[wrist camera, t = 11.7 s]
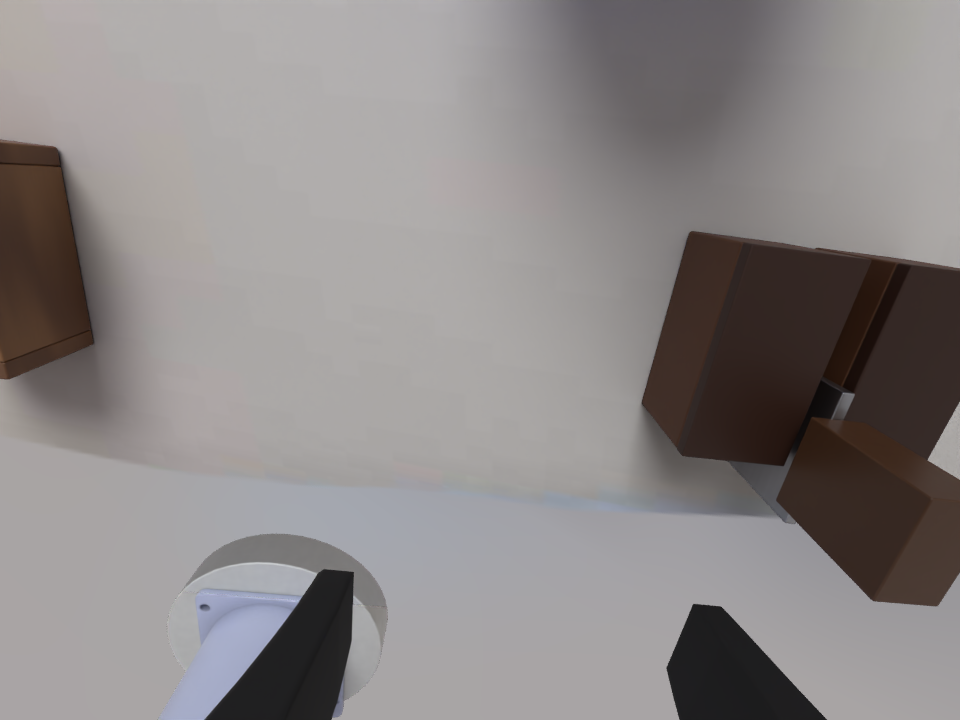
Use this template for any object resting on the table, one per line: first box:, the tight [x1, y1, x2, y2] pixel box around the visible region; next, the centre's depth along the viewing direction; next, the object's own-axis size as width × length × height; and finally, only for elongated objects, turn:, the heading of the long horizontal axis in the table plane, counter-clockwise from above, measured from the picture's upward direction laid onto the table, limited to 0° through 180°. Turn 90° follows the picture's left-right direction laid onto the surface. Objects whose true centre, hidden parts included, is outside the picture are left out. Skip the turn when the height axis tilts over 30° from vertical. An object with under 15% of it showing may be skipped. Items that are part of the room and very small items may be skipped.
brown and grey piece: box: [728, 376, 960, 606], centre depth 15 cm, size 5×2×8 cm, turn 173°
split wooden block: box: [642, 231, 960, 466], centre depth 16 cm, size 7×8×4 cm
